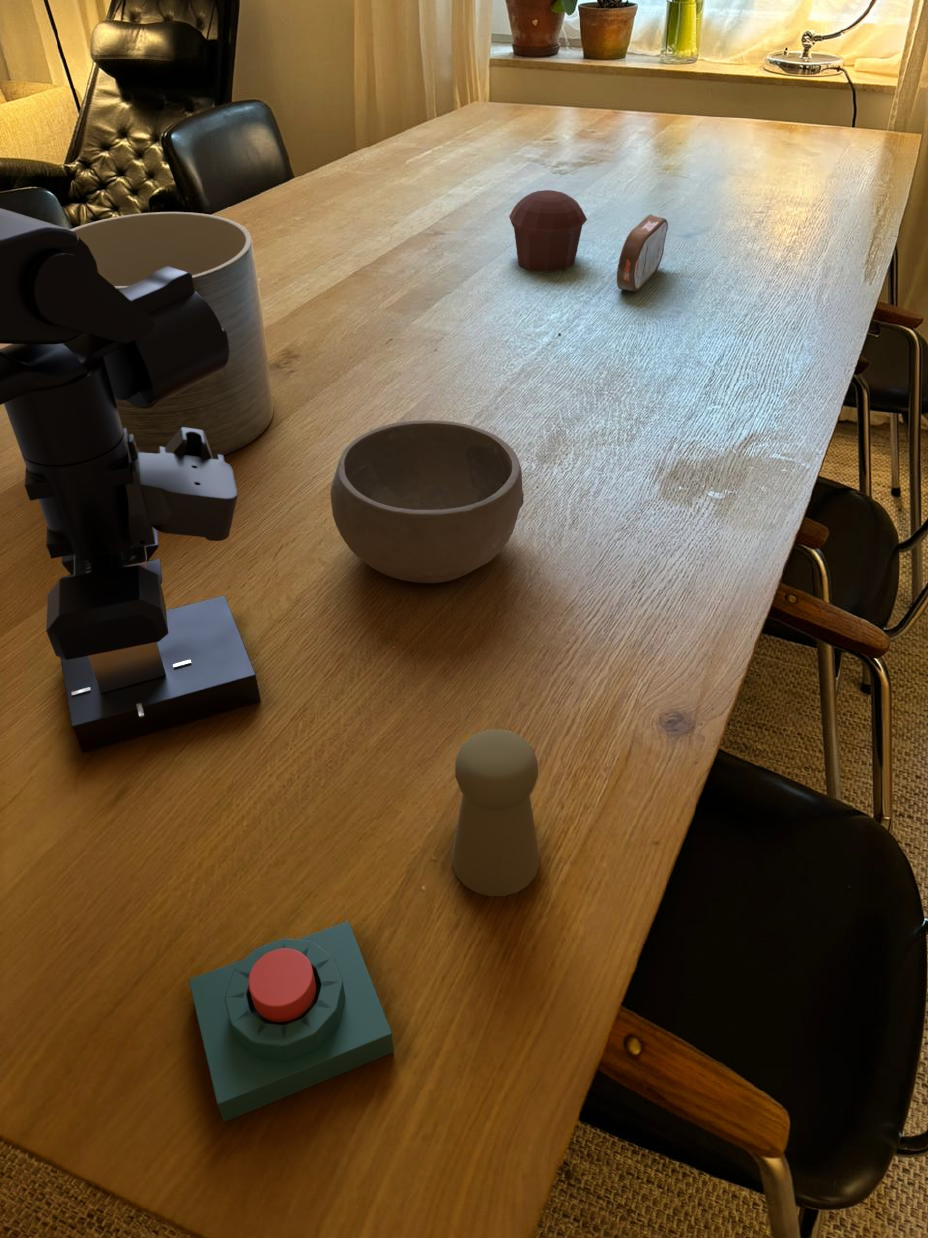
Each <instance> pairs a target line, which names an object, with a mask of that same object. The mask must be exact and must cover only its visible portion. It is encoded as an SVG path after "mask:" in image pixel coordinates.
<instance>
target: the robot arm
mask: <svg viewBox="0 0 928 1238" xmlns="http://www.w3.org/2000/svg"><path fill="white" fill-rule="evenodd" d="M0 344H2V345H6V346H3V347H2V348H0V406H1V405H3V406H4V409H5V412H6V414H7V417H8V420H9V423H10V425H11V428H12V431H13V433H14V437H15V439H16V442H17V444H18V448H19V451H20V453H21V457H22V460H23V462H24V464H25V474H24V488H25V491H26V493H27V497H28V499H29V501H34V500H35V501H36V500H38V503H39V506H40V509H41V512H42V515H43V517H44V518H43V519H44V520H45V523H46V539H45V542H46V545H45V546H46V549H47V551H48V554H49V556H50V559H57V558H61V565H62V566H63V567H64V569H66V571H67V572H68V573H69V575H63V576H61V577H60V578H59V579H58V581H57V582H56V583H55V584H54V586H53V587H52V588H51V589H50V591H49V593H48V594H47V601H46V602H47V603H46V605H47V606H46V626H45V627H46V634H47V636H48V639H49V642H50V644H51V647H52V649H53V652H54V654H55V656H56V657H58V658H62V659H65V660H70V659H75V658H80V657H85V656H90V655H95V654H100V653H105V652H110V651H115V650H120V649H125V648H130V647H135V646H140V645H144V644H149V643H154V642H159V641H160V640H162V639H163V638H164V637H165V636H166V635H167V634H168V623H167V614H166V610H167V606H166V601H165V596H164V593H163V592H164V591H163V587H162V583H163V575H162V574H163V572H162V564H161V558H155V559H151V558H152V557H153V556H154V555H155V553H156V552H157V550H158V549H159V546H160V545H159V536H158V532H160V533H164V534H167V535H168V534H170V535H180V536H187V537H196V538H197V537H198V538H205V539H206V540H207V541H211V542H222V541H225V540H227V539H228V538H229V537H230V531H231V527H232V523H233V518H234V514H235V509H236V504H237V500H238V495H239V492H238V491H239V490H238V487H237V483H236V479H235V473H234V470H233V467H232V466H231V464H229V463H228V462H226V461H225V455H219V454H218V455H217V458H213V456H212V453H211V449H210V446H209V444H208V441H207V438H206V436H205V433H204V431H203V430H200V429H193V428H186V427H182V428H181V429H180V430H179V431H178V432H177V433H176V435H175V436H174V437H173V438H172V439H171V441H170V442H169V443H168V444H167V446H166V448H165V447H161V446H159V450H158V454H156V453H145V452H143V451H141V450H140V449H138V448H137V445H136V442H135V438H134V435H133V434H129V435H128V431H127V428H123V427H122V423H121V419H120V416H119V412H118V409H117V405H116V401H115V398H117V399H119V400H126V401H128V402H129V403H131V404H132V405H134V406H136V407H138V408H143V409H148V408H151V407H153V406H155V405H157V404H159V403H161V402H163V401H165V400H167V399H169V398H171V397H173V396H175V395H176V394H178V393H180V392H182V391H184V390H186V389H188V388H190V387H192V386H194V385H196V384H198V383H200V382H202V381H203V380H205V379H207V378H209V377H211V376H213V375H215V374H217V373H219V372H221V371H222V370H223V369H224V368H225V367H226V364H227V362H228V359H229V341H228V337H227V333H226V331H225V330H224V329H223V328H222V327H221V325H220V322H219V320H218V319H217V317H216V315H215V313H214V312H213V310H212V309H211V307H210V306H209V305H208V303H207V302H206V301H205V300H204V299H203V298H202V297H201V296H200V295H199V294H198V293H197V292H196V291H195V288H194V283H193V278H192V275H191V274H190V273H188V272H185V271H182V270H178V269H175V268H172V267H169V266H167V267H164V268H162V269H160V270H157V271H155V272H153V273H152V274H150V275H149V276H148V277H146V278H145V279H144V280H142V281H140V282H137V283H135V284H132V285H130V286H128V287H125V288H123V289H120V290H118V289H117V288H115V287H114V286H113V285H112V284H111V283H110V282H108V281H107V280H106V279H105V278H104V277H103V276H101V275H100V274H99V273H98V268H97V263H96V260H95V259H94V257H93V255H92V253H91V251H90V249H89V247H88V246H87V245H86V244H85V243H84V242H83V241H82V240H81V239H80V238H79V237H78V235H77V234H76V233H75V232H73V231H71V230H70V229H68V228H66V227H64V226H60V225H57V224H53V223H50V222H47V221H44V220H41V219H38V218H34V217H31V216H27V215H24V214H21V213H18V212H15V211H11V210H7V209H5V208H1V207H0ZM114 397H115V398H114Z"/></svg>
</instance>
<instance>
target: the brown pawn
mask: <svg viewBox="0 0 928 1238" xmlns="http://www.w3.org/2000/svg"><path fill="white" fill-rule="evenodd" d="M538 764H539V763H538V759H537V755H536V753H535V751H534V749H533V747H532V745H531V744H530V743H529V742H528V741H526V740H525V739H524V738H523V737H522V736H521V735H519V734H517V733H516V732H513V731H512V730H511V731H510V730H506V729H502V728H501V729H499V728H498V729H495V728H492V729H487V730H482V731H479V732H478V733H476V734H474V735H471V737H469V738H468V739H467V740H466V741H465V742H464V743H463V744H462V745H461V747H460V749H459V751H458V753H457V756H456V758H455V763H454V773H455V775H454V776H455V777H454V778H455V779H456V782H457V785H458V787H459V790H460V792H461V793H462V794H461V795H462V796H461V800H460V801H461V802H460V807H459V813H458V817H457V824H456V829H455V836H454V841H453V848H452V851H451V852H452V853H451V866H452V869H453V871H454V874H455V877H456V878H457V879H458V880H459V881H460V882H461V883H462V885H463V886H465V887H466V888H468V889H469V890H471V891H473V892H474V893H477V894H479V895H482V896H486V897H506V896H510V895H513V894H517V893H519V892H521V891H522V890H524V889H525V888H526V887H528V886H529V885H530V884H531V883H532V881H533V880H534V879H535V878H536V877H537V874H538V871H539V868H540V864H541V863H540V851H539V843H538V838H537V832H536V826H535V825H536V824H535V819H534V812H533V805H532V799H531V794H532V792H533V790H534V788H535V785H536V782H537V781H538V777H539V776H538V775H539V765H538Z"/></svg>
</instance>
